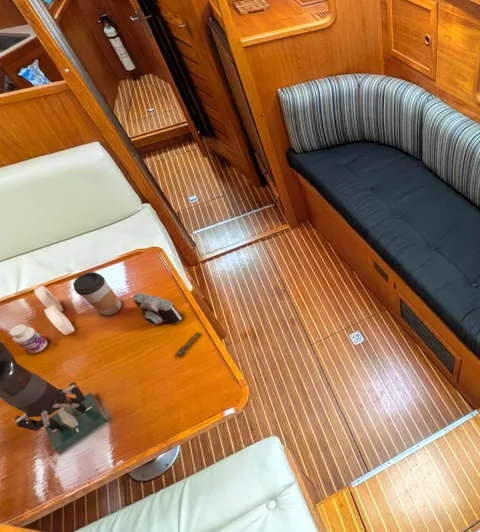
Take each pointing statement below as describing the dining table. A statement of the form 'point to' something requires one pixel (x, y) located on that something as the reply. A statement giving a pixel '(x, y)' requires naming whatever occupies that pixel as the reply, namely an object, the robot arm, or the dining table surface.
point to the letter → (54, 310)
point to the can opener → (188, 344)
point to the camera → (157, 309)
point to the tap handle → (67, 417)
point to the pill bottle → (28, 338)
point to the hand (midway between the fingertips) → (70, 418)
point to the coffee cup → (97, 293)
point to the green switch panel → (85, 421)
